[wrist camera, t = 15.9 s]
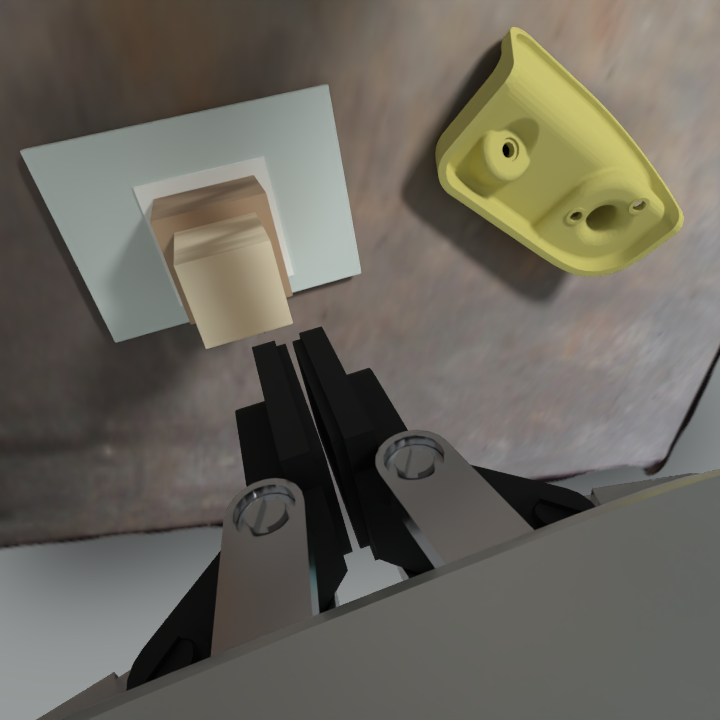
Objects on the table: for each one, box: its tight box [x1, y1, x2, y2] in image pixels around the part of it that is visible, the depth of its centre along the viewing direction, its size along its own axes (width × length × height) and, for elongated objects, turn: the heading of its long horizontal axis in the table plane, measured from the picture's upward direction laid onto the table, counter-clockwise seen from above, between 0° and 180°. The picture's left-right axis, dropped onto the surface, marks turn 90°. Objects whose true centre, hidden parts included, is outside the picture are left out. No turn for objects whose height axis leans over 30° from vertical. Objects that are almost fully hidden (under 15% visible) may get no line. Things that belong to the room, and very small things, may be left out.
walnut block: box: [150, 175, 293, 325], centre depth 35 cm, size 7×7×6 cm
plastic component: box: [435, 27, 684, 277], centre depth 42 cm, size 20×8×10 cm
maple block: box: [174, 212, 293, 349], centre depth 30 cm, size 5×5×6 cm
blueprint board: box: [20, 84, 361, 343], centre depth 37 cm, size 20×14×1 cm
